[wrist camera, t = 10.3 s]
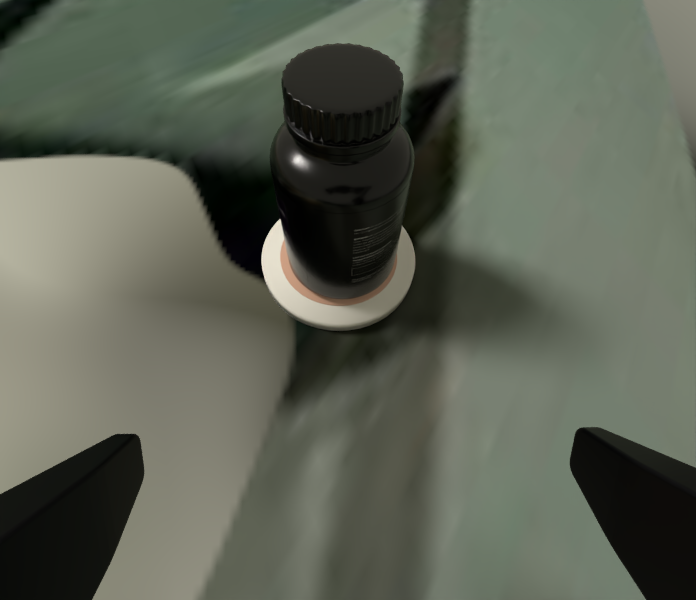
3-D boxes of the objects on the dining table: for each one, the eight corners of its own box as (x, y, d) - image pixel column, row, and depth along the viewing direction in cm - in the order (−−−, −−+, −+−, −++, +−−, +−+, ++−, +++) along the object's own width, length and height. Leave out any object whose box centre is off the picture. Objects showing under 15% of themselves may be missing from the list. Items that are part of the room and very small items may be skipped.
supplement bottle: (388, 216, 28) (421, 28, 17) (399, 302, 24) (448, 133, 14) (288, 217, 27) (261, 27, 17) (285, 305, 24) (248, 134, 14)
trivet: (442, 265, 27) (446, 256, 26) (336, 363, 24) (337, 356, 23) (340, 186, 30) (340, 175, 29) (233, 260, 27) (229, 251, 26)
